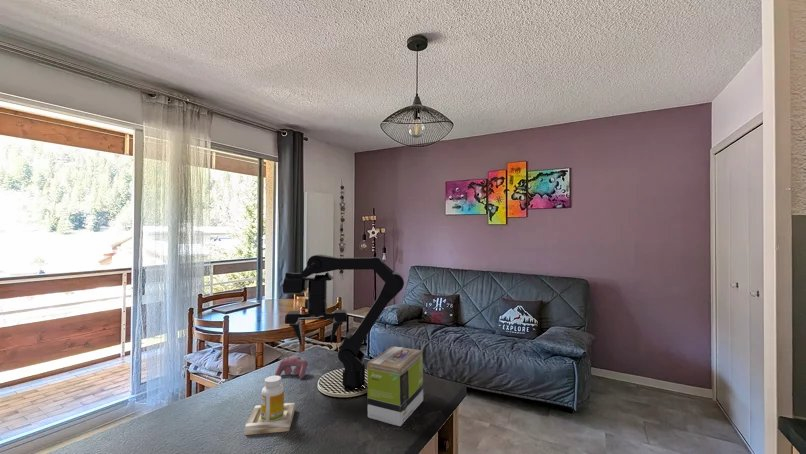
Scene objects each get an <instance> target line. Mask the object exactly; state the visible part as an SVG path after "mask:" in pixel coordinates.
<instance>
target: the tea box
mask: <svg viewBox="0 0 806 454" xmlns="http://www.w3.org/2000/svg"><path fill="white" fill-rule="evenodd" d="M423 356H424V355H423V350H422V349H416V348H415V349H414V348H410V347H409V348H407V347H401V346H395V345H392V346H391V347H389V348H388V349H386V350H385V351H383V352H381V353H379V354H378V355H377V356H375V357H374V358H372V359H371V360H369V361H368V362H367V366H366V367H367V371H366V372H367V373H366V374H367V375H366V376H367V381H366V382H367V384H366V385H367V418H369V419H372V420H376V421H379V422H382V423H386V424H390V425H393V426H397V427H401V426H402V425H403V424H404V422H406V420H407V419H409V417H410V416H411V415H412V414H413V413H414V411H415V410H416V409H417V408H418V407H419V406H420V405H421V404H422V402H424V372H423V371H424V367H423V366H424V365H423V362H424V361H423Z"/></svg>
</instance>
